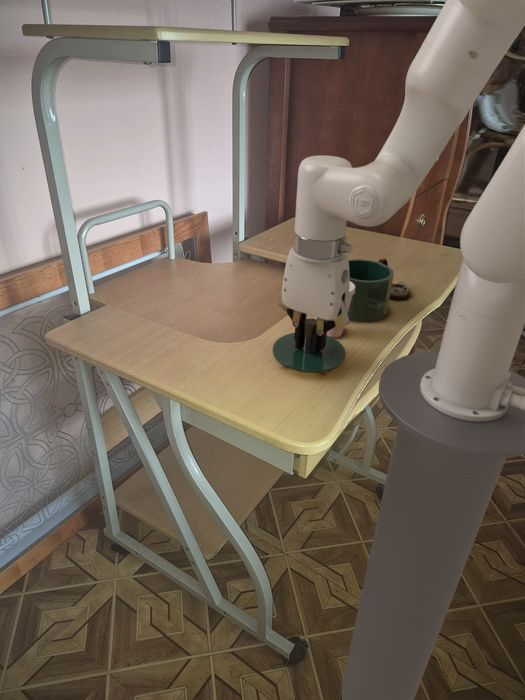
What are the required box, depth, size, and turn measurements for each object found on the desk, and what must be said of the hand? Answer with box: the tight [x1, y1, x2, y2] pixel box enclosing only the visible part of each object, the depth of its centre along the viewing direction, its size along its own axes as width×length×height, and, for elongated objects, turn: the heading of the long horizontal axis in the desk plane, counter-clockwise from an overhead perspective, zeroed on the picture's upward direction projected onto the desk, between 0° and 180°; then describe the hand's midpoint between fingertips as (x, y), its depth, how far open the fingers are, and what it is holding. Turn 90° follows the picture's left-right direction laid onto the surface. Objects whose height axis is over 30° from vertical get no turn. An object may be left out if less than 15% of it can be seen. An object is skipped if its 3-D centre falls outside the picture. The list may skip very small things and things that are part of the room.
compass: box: [377, 258, 412, 300], centre depth 108 cm, size 8×8×7 cm
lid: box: [272, 317, 347, 374], centre depth 84 cm, size 12×12×7 cm
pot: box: [348, 258, 394, 323], centre depth 100 cm, size 11×11×8 cm
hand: (309, 347), depth 84 cm, fingers closed on lid, 2 cm apart
